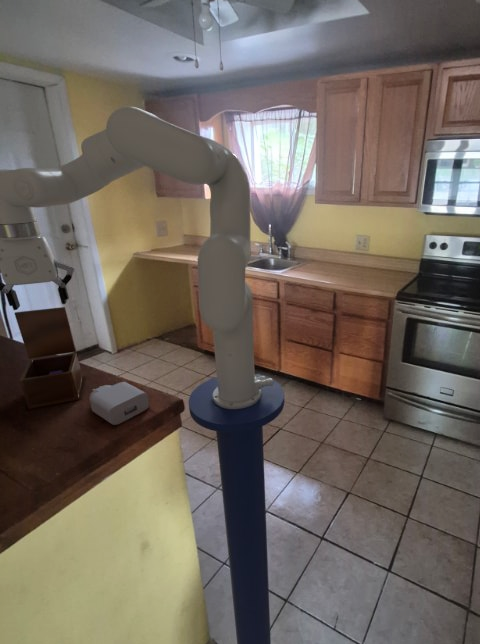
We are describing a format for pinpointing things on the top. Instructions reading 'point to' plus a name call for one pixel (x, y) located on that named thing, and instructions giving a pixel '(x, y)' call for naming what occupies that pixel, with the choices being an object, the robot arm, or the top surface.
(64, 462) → the top surface
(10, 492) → the top surface
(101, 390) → the charger
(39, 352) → the lid
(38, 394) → the chest
